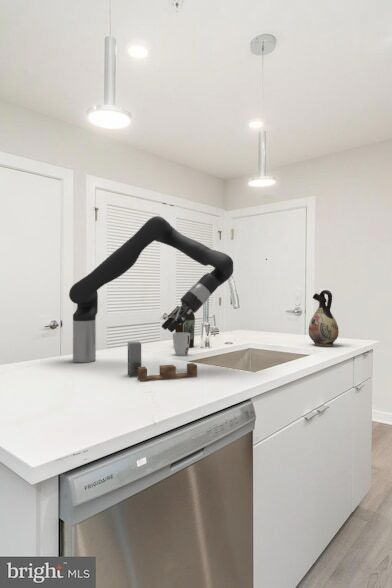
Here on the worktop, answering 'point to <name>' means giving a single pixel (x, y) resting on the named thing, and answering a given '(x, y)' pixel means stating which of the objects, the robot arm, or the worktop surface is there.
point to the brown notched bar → (167, 373)
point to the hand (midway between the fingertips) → (166, 329)
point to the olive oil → (188, 328)
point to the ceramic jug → (323, 322)
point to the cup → (181, 343)
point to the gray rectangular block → (134, 358)
